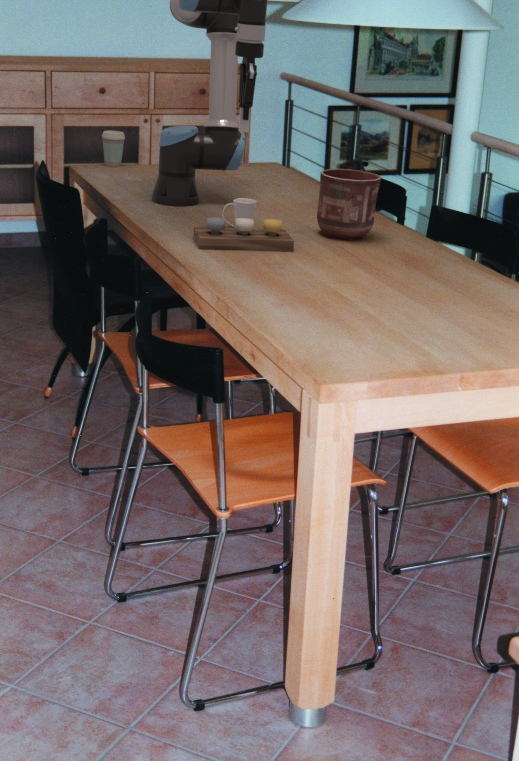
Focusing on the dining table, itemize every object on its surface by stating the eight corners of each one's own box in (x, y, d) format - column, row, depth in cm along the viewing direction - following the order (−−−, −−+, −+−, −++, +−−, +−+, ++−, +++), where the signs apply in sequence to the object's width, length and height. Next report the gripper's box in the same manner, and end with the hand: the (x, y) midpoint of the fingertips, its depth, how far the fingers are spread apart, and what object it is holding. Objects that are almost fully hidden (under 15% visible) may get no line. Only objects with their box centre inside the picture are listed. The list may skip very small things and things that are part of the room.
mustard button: (261, 236, 274) (262, 218, 272) (278, 237, 275) (280, 219, 273) (264, 241, 270) (266, 223, 268) (282, 242, 271) (283, 223, 269)
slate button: (204, 235, 271) (205, 216, 269) (222, 235, 272) (223, 217, 270) (206, 240, 266) (208, 221, 264) (225, 240, 267) (226, 221, 265)
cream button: (232, 236, 272) (234, 217, 270) (250, 236, 273) (251, 218, 271) (235, 240, 268) (237, 222, 266) (253, 241, 269) (255, 222, 267)
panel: (193, 237, 274) (194, 226, 273) (284, 240, 279) (285, 229, 278) (199, 249, 263) (199, 238, 262) (293, 251, 268) (294, 240, 267)
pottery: (375, 245, 282) (382, 182, 275) (314, 239, 282) (320, 176, 276) (372, 231, 298) (379, 171, 292) (314, 225, 299) (320, 166, 292)
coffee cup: (128, 167, 360) (129, 134, 356) (106, 167, 356) (106, 134, 352) (119, 162, 367) (119, 130, 362) (97, 163, 363) (98, 130, 358)
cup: (256, 231, 286) (259, 203, 283) (223, 229, 285) (224, 202, 282) (253, 225, 293) (255, 198, 290) (220, 223, 291) (221, 196, 288)
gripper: (232, 38, 266) (226, 126, 275) (240, 42, 254) (234, 135, 263) (259, 40, 267) (252, 128, 277) (268, 44, 256) (261, 136, 265)
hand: (243, 131), depth 270 cm, fingers closed
